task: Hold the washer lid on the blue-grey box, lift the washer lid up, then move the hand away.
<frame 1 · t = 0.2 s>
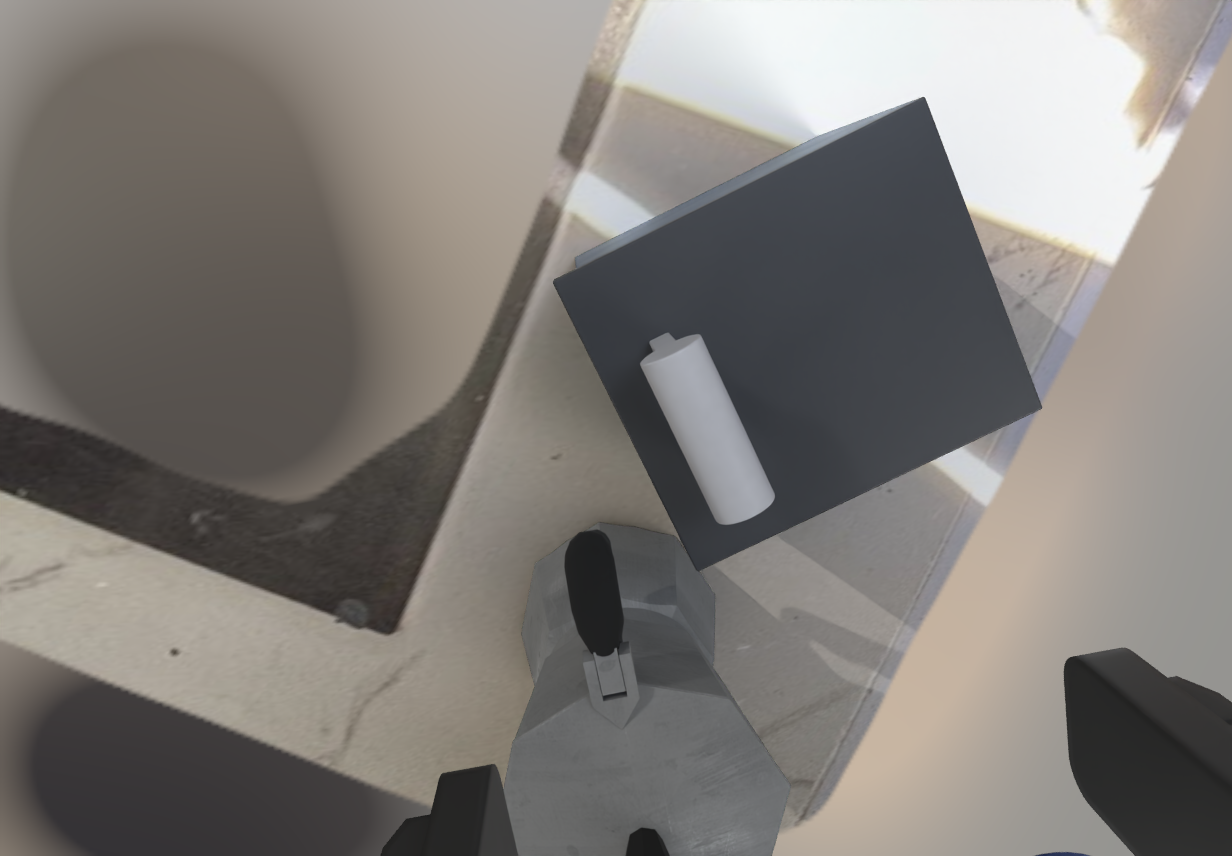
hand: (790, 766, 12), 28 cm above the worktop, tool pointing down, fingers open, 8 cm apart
blue-grey box: (745, 308, 39), on the worktop
washer lid: (822, 356, 26), point 14 cm above the worktop, hinge at 0.0°
coffeepot: (613, 588, 42), on the worktop
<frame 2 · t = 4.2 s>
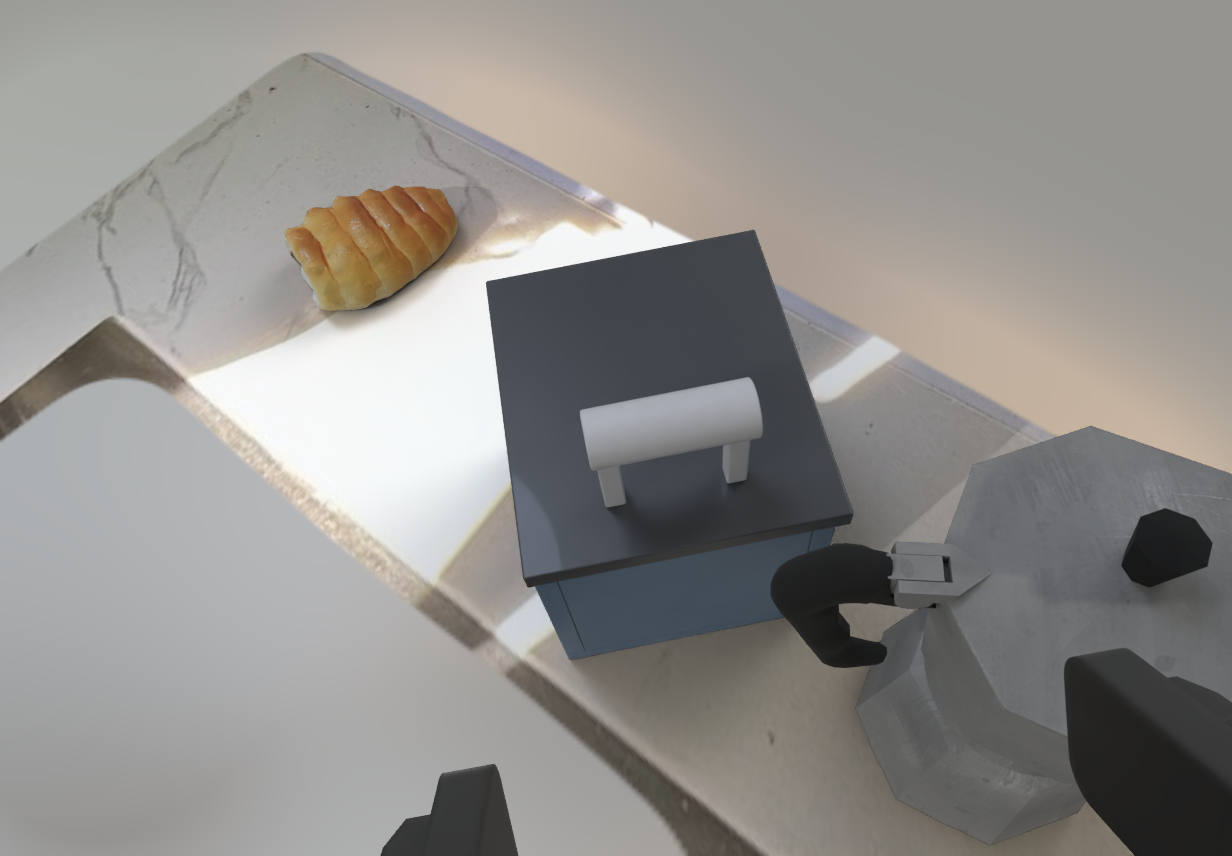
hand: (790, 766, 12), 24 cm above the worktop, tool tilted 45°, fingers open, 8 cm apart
blue-grey box: (663, 516, 41), on the worktop
pastry: (373, 263, 51), on the worktop
washer lid: (647, 352, 29), point 14 cm above the worktop, hinge at 0.0°
coffeepot: (944, 717, 36), on the worktop
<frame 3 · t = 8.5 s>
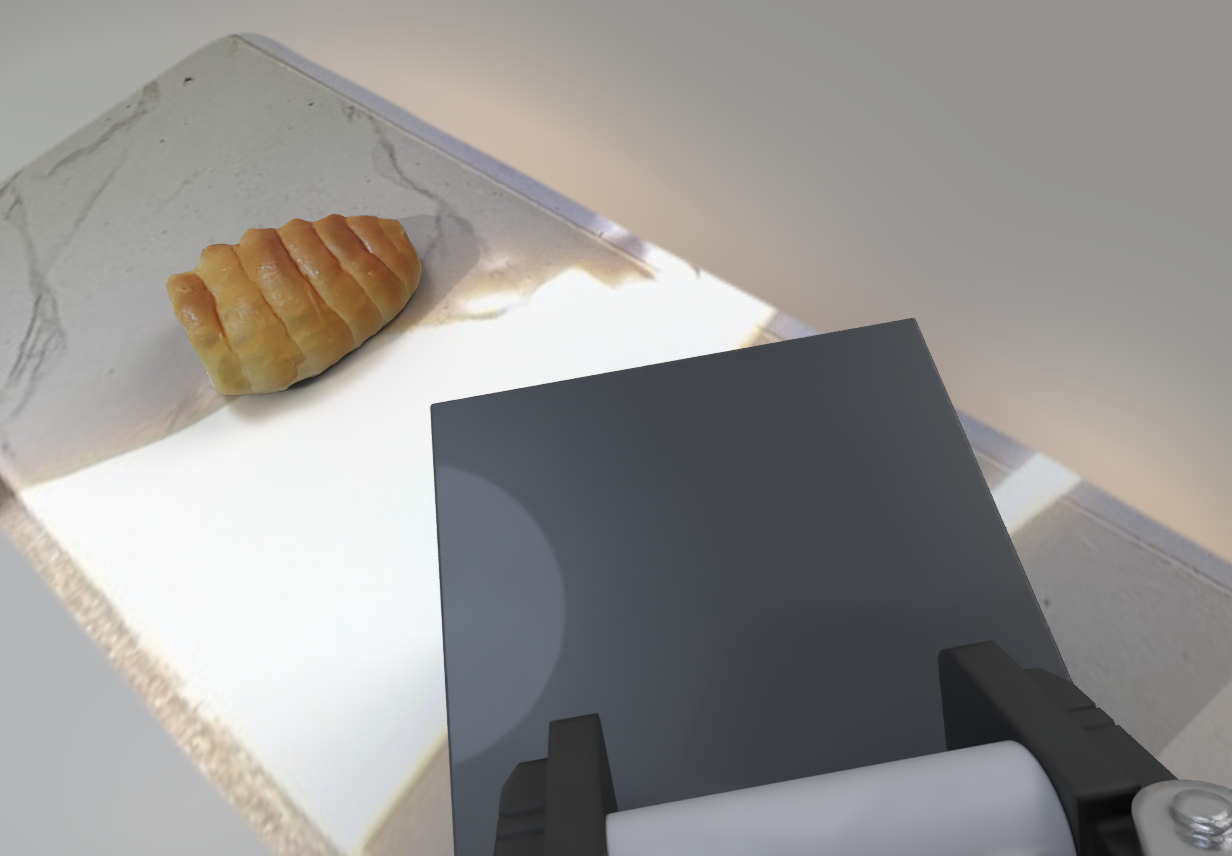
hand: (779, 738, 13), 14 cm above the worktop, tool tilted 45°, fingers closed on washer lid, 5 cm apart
pastry: (301, 322, 36), on the worktop
washer lid: (743, 596, 14), point 14 cm above the worktop, hinge at 0.0°, touching gripper
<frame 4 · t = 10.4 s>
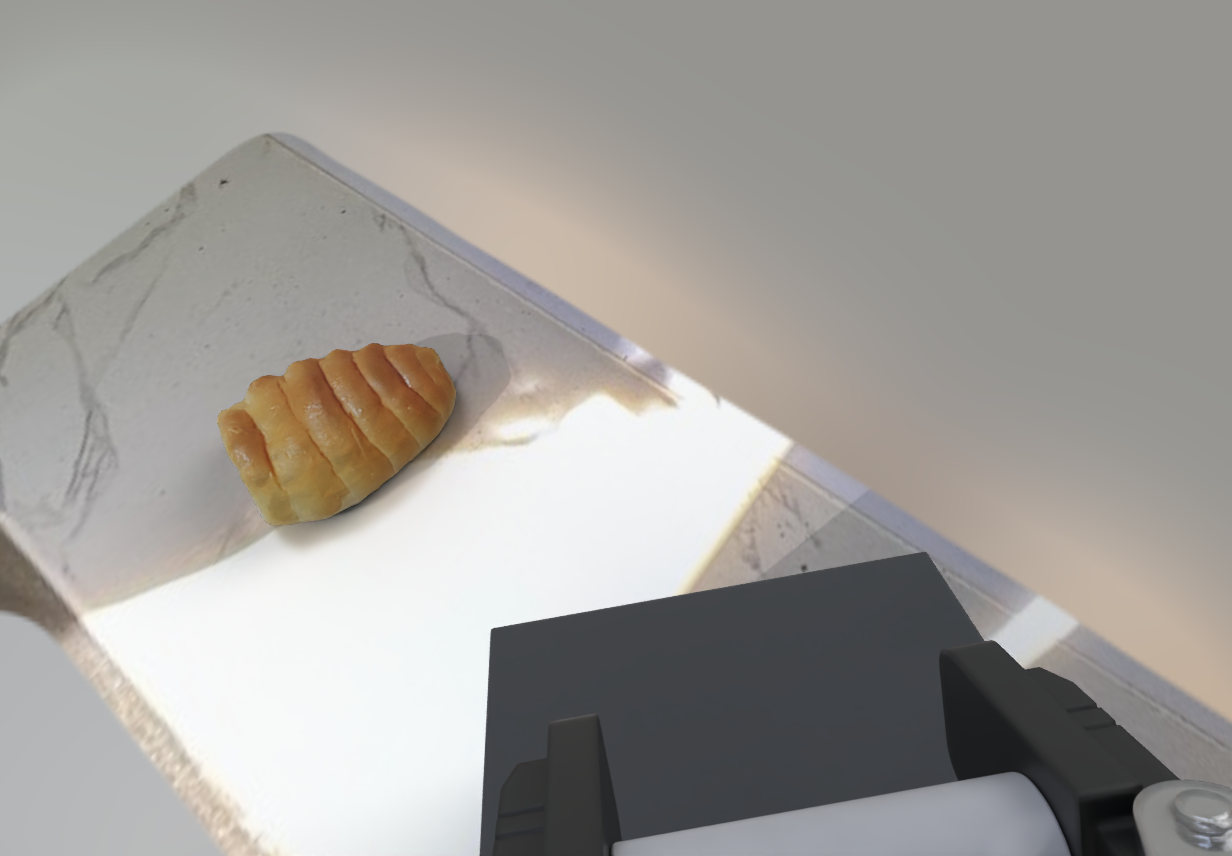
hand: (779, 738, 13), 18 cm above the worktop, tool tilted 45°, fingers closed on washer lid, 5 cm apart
pastry: (341, 444, 38), on the worktop
washer lid: (763, 734, 15), point 16 cm above the worktop, hinge at 30.1°, touching gripper
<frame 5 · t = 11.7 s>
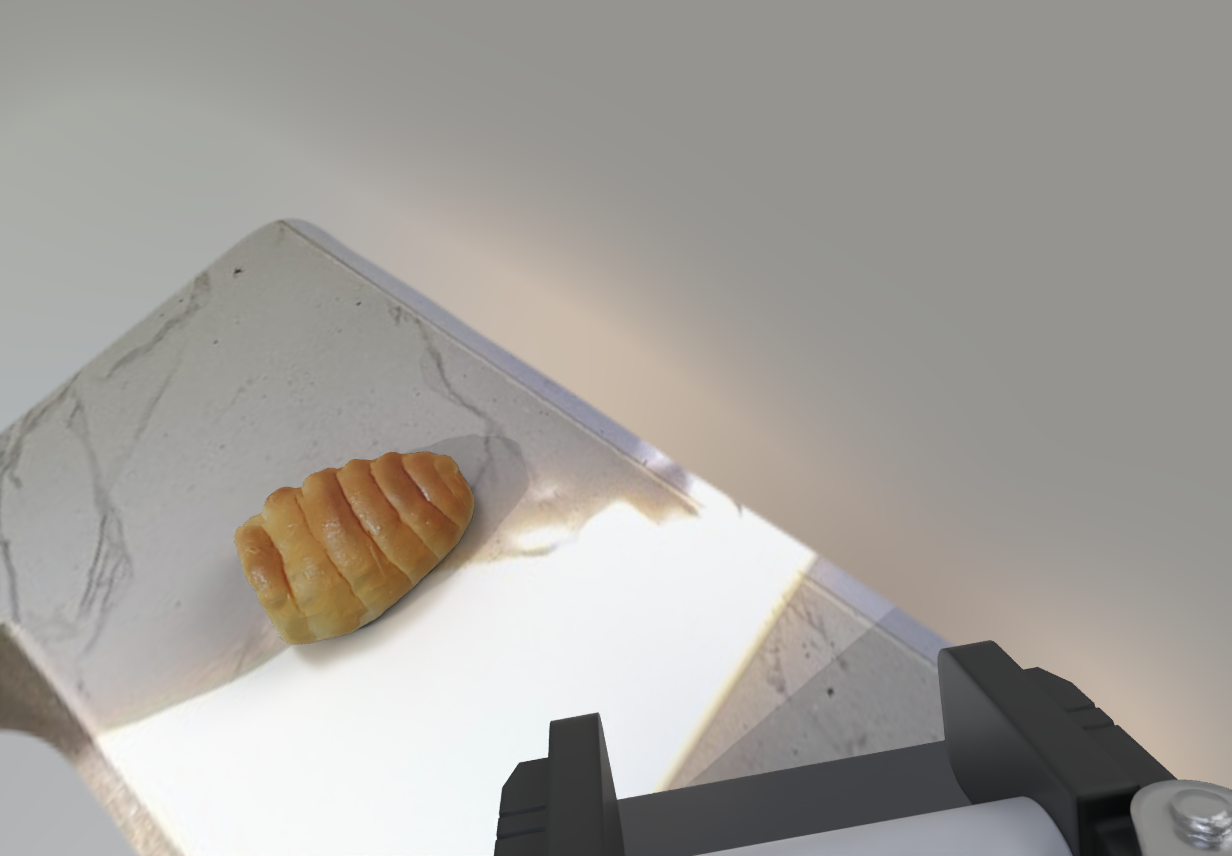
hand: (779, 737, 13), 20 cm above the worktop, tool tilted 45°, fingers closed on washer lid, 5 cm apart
pastry: (358, 553, 38), on the worktop
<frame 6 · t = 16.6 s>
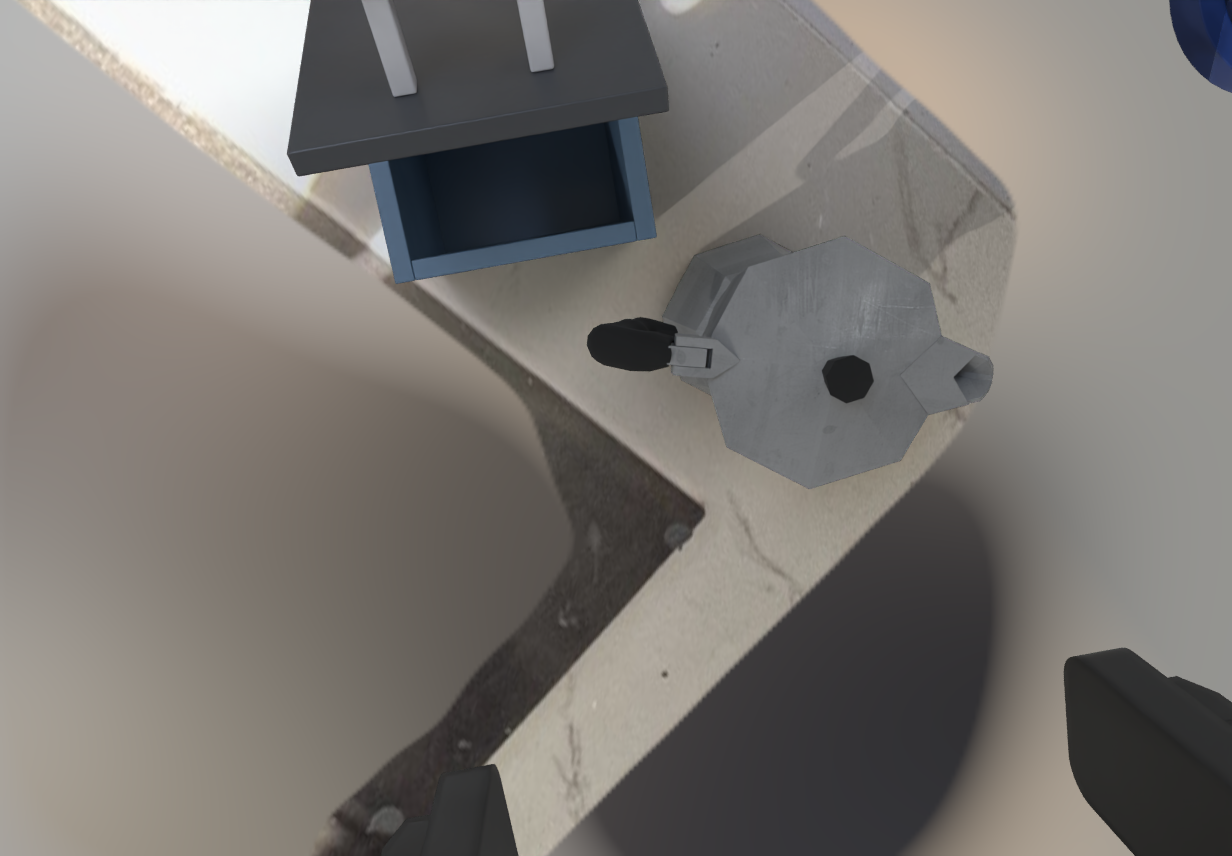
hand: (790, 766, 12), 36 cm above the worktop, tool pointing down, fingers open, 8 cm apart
blue-grey box: (514, 137, 45), on the worktop
coffeepot: (727, 321, 47), on the worktop
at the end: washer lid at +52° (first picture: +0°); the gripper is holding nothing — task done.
